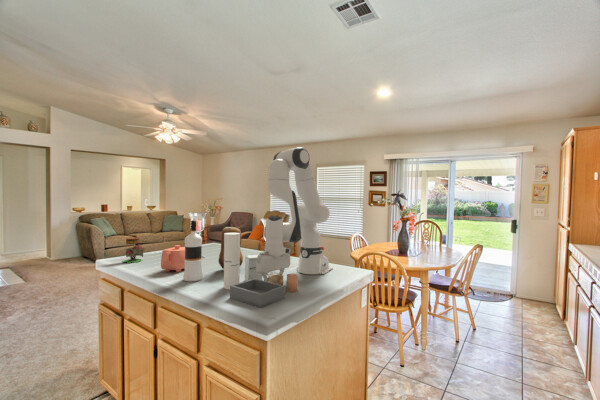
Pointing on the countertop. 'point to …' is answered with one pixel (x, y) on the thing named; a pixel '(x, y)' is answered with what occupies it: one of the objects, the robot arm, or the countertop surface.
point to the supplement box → (251, 268)
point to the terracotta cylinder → (292, 282)
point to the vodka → (193, 256)
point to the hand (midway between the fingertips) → (273, 279)
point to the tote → (257, 292)
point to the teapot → (173, 258)
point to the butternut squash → (221, 256)
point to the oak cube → (276, 279)
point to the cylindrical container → (231, 259)
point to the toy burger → (133, 250)
